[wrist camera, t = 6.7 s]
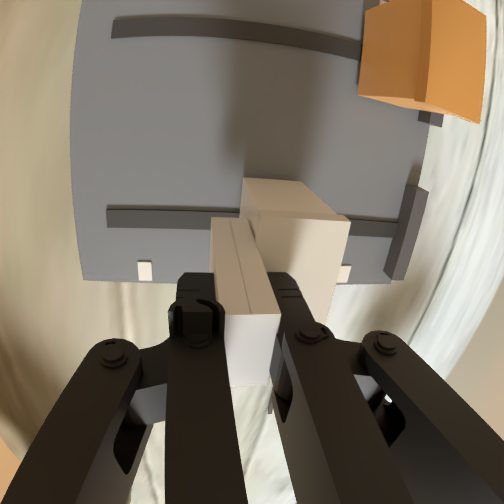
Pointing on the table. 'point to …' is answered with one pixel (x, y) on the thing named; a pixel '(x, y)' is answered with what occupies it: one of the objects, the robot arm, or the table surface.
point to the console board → (233, 132)
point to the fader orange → (425, 56)
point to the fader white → (297, 237)
